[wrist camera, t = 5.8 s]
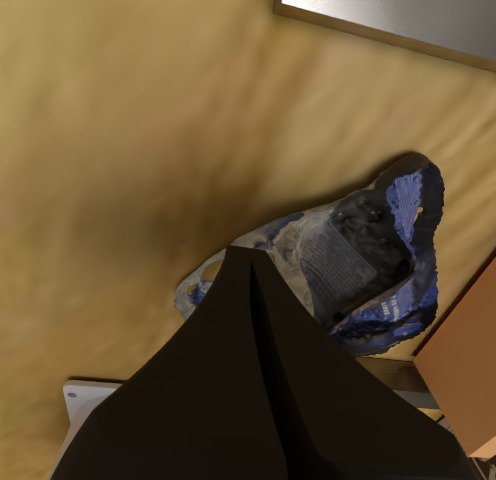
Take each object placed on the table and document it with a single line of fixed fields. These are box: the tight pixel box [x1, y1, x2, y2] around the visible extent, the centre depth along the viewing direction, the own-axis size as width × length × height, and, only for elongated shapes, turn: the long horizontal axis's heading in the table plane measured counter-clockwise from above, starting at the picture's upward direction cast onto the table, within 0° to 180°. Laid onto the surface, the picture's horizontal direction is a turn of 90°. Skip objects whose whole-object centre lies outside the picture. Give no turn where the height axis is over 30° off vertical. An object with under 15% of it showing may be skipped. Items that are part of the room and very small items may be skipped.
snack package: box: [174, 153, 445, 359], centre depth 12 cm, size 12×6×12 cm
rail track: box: [273, 0, 496, 410], centre depth 13 cm, size 18×18×2 cm
